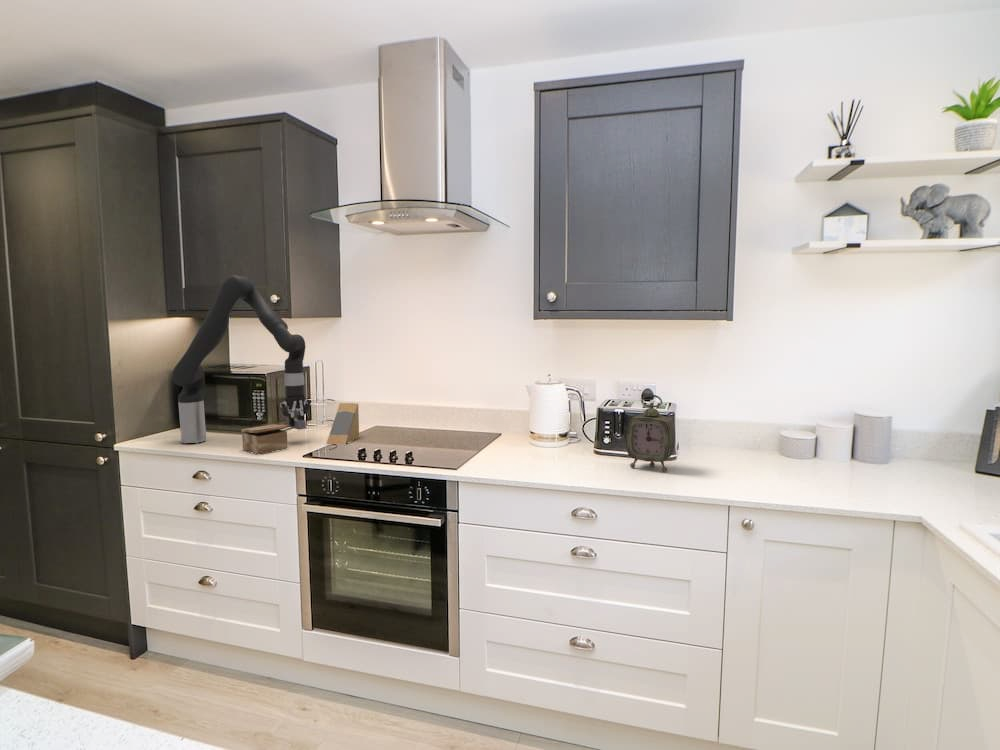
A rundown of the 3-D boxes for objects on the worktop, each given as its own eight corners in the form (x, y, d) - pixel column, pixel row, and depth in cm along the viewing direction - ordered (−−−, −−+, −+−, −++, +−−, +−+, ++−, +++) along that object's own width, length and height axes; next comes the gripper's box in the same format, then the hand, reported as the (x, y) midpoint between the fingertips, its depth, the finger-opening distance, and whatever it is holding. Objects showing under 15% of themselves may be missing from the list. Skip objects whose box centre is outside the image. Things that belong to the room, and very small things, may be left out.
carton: (243, 450, 224) (242, 432, 223) (272, 444, 233) (270, 427, 232) (258, 454, 216) (257, 436, 215) (287, 448, 225) (286, 431, 224)
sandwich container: (324, 445, 231) (322, 409, 229) (340, 437, 246) (339, 402, 244) (344, 446, 229) (343, 409, 228) (359, 437, 244) (358, 403, 243)
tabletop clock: (625, 468, 192) (626, 394, 189) (633, 462, 200) (634, 391, 197) (668, 474, 184) (670, 397, 182) (675, 467, 192) (677, 394, 189)
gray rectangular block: (286, 426, 237) (286, 418, 236) (293, 425, 239) (293, 417, 238) (299, 429, 230) (298, 421, 230) (305, 428, 232) (305, 420, 232)
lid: (241, 432, 223) (241, 429, 223) (271, 426, 232) (271, 424, 232) (257, 432, 215) (256, 430, 215) (287, 427, 224) (287, 424, 224)
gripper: (304, 381, 240) (306, 421, 242) (273, 384, 229) (275, 426, 231) (315, 382, 235) (316, 424, 237) (283, 386, 225) (285, 429, 227)
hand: (296, 425), depth 234 cm, fingers closed on gray rectangular block, 3 cm apart
